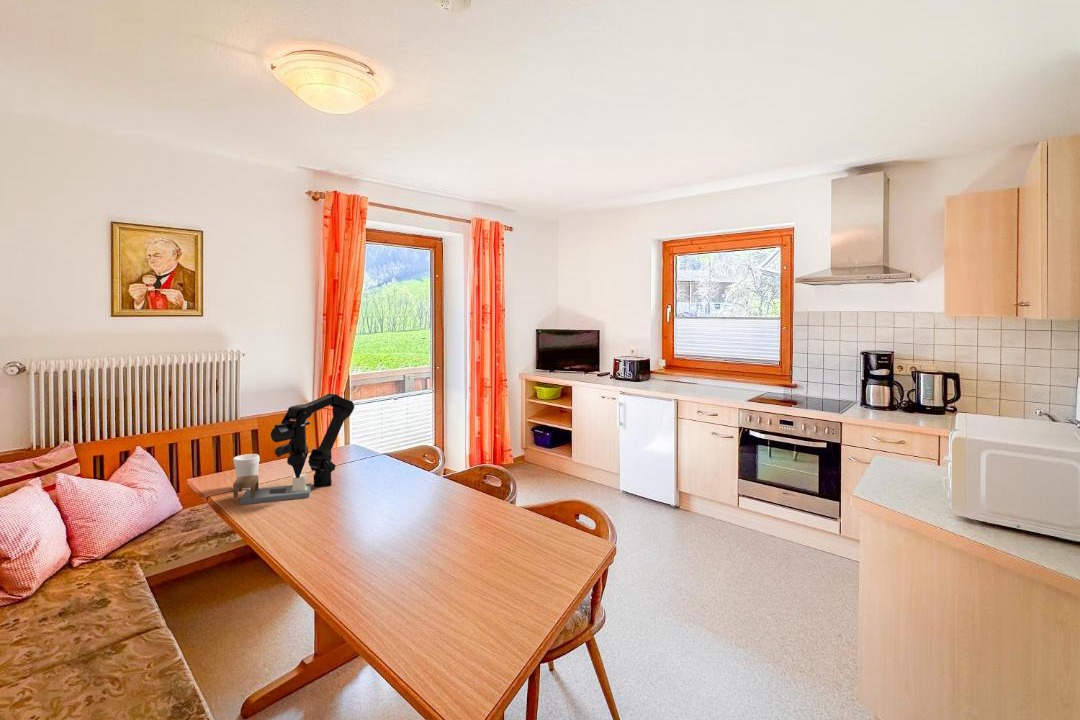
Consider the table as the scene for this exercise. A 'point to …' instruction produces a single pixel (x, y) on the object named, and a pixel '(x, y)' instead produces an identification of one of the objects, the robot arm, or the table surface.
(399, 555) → the table surface
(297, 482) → the block
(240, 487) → the slide cover
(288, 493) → the board
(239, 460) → the foam cup
